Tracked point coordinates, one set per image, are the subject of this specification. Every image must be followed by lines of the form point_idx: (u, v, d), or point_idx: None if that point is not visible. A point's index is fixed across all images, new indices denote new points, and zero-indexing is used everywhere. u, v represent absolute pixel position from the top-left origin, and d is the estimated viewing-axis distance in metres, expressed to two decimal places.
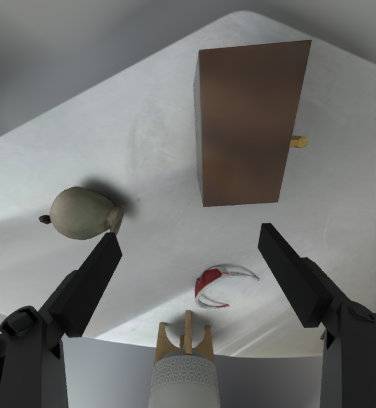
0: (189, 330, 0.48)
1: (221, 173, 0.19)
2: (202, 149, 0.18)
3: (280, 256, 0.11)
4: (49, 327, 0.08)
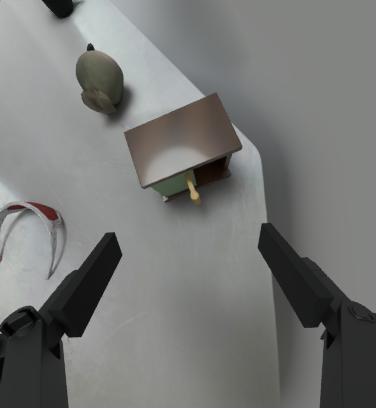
0: None
1: (153, 133, 0.25)
2: (166, 114, 0.25)
3: (280, 256, 0.11)
4: (49, 327, 0.08)
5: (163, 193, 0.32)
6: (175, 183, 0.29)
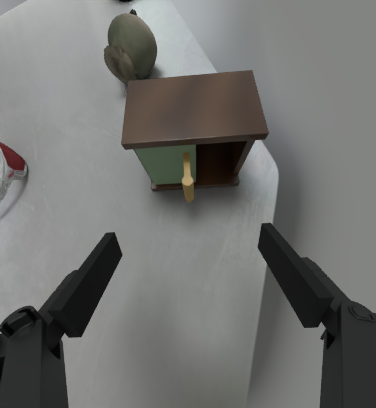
0: None
1: (162, 90, 0.19)
2: (185, 76, 0.20)
3: (280, 256, 0.11)
4: (49, 327, 0.08)
5: (152, 176, 0.25)
6: (169, 164, 0.22)
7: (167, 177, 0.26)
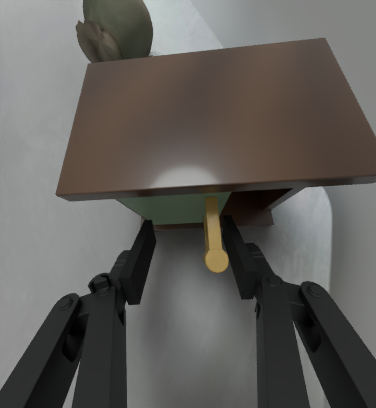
0: None
1: (149, 79, 0.10)
2: (193, 53, 0.11)
3: (231, 242, 0.12)
4: (119, 295, 0.09)
5: (150, 218, 0.16)
6: (178, 209, 0.13)
7: (173, 219, 0.17)
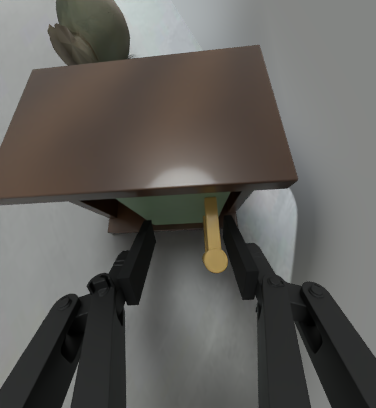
0: None
1: (86, 85, 0.10)
2: (133, 59, 0.11)
3: (231, 242, 0.12)
4: (118, 296, 0.09)
5: (149, 219, 0.16)
6: (178, 209, 0.13)
7: (173, 219, 0.16)
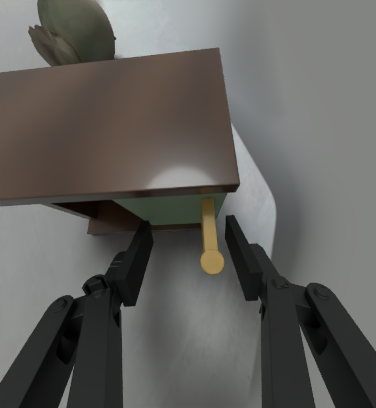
0: None
1: (46, 89, 0.10)
2: (95, 62, 0.11)
3: (234, 242, 0.12)
4: (114, 297, 0.09)
5: (147, 219, 0.16)
6: (175, 209, 0.13)
7: (171, 219, 0.16)
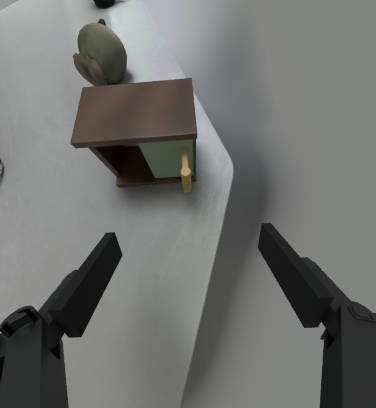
0: None
1: (111, 96, 0.22)
2: (132, 83, 0.23)
3: (280, 256, 0.11)
4: (49, 327, 0.08)
5: (153, 169, 0.28)
6: (169, 158, 0.25)
7: (167, 171, 0.28)
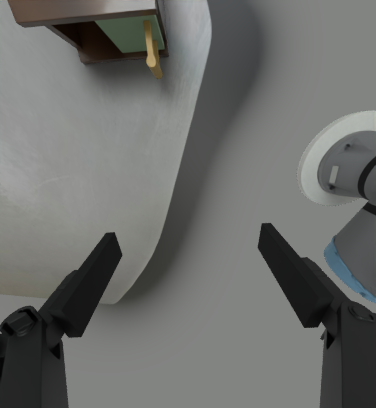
0: None
1: None
2: None
3: (280, 256, 0.11)
4: (49, 327, 0.08)
5: (117, 44, 0.25)
6: (132, 32, 0.22)
7: (133, 45, 0.25)
